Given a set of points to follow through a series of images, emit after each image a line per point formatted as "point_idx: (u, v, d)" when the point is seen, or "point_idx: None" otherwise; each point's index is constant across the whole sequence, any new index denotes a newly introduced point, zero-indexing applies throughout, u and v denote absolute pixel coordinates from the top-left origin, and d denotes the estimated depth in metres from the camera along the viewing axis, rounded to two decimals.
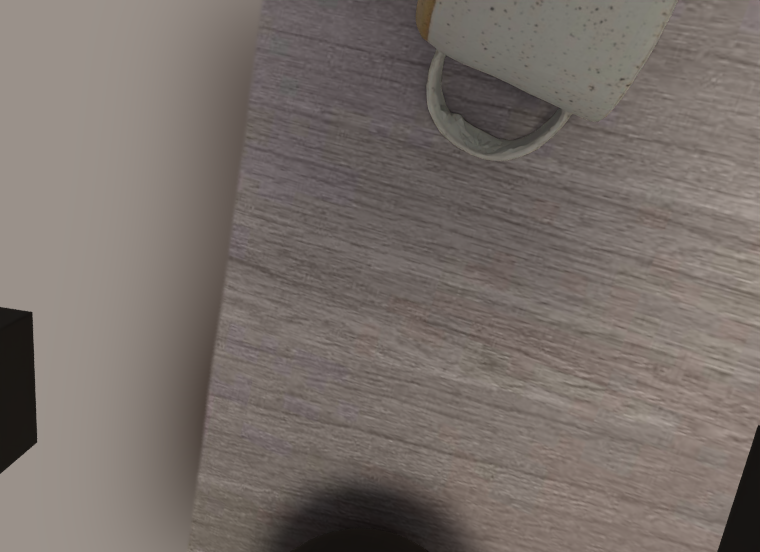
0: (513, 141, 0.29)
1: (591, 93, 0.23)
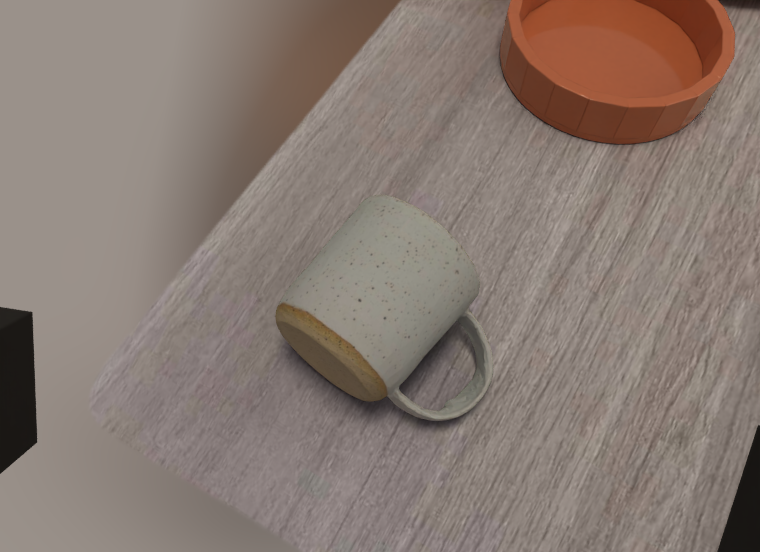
0: (478, 366, 0.35)
1: (460, 274, 0.31)
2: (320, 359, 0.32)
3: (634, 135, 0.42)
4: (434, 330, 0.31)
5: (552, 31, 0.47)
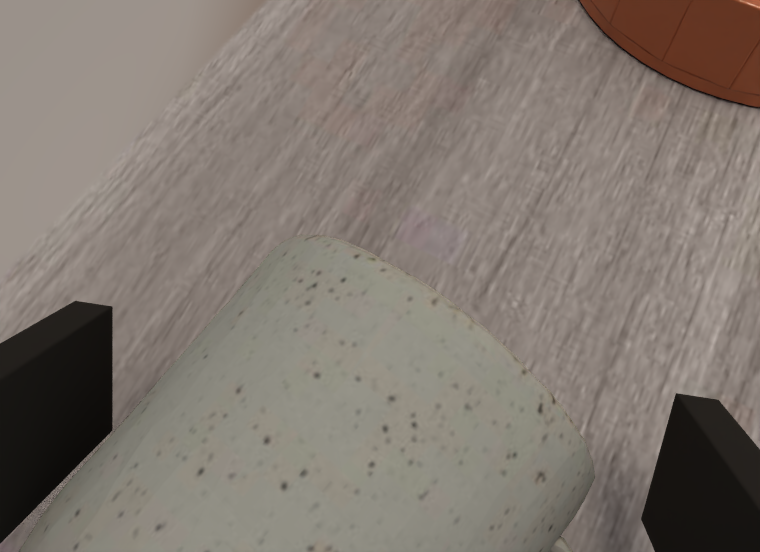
0: None
1: (550, 480, 0.10)
2: None
3: None
4: None
5: None
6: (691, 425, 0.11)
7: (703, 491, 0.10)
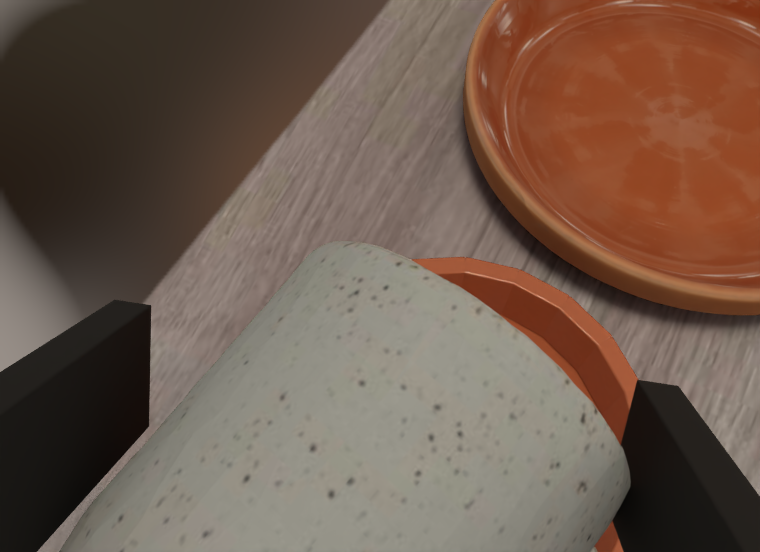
0: None
1: (591, 490, 0.10)
2: None
3: None
4: None
5: None
6: (649, 409, 0.11)
7: (658, 471, 0.11)
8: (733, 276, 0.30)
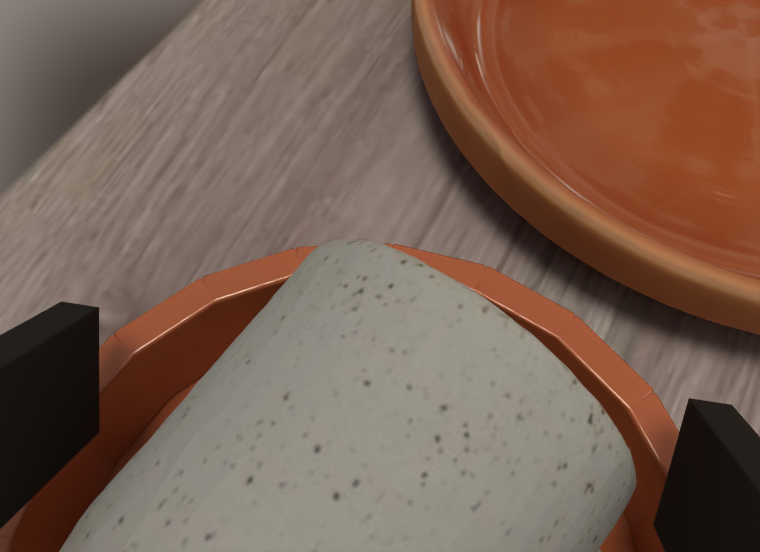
0: None
1: (598, 491, 0.10)
2: None
3: None
4: None
5: None
6: (705, 431, 0.11)
7: (719, 497, 0.10)
8: None
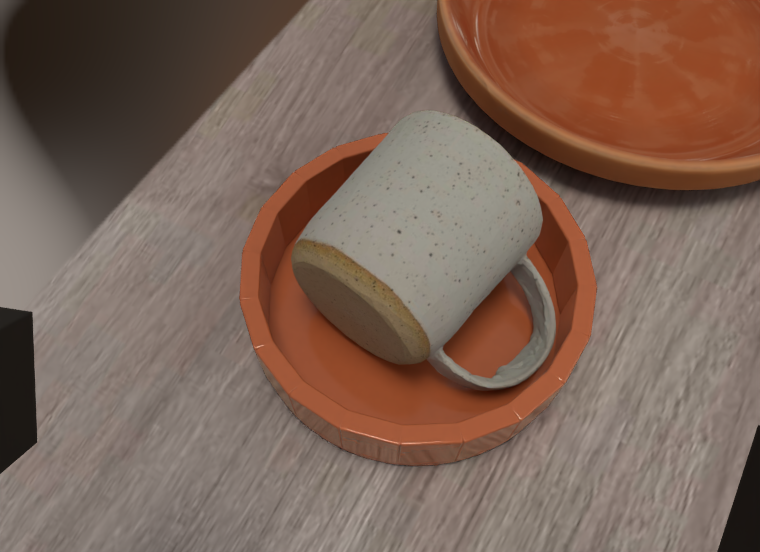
0: (535, 326, 0.28)
1: (522, 205, 0.25)
2: (346, 312, 0.26)
3: (431, 460, 0.26)
4: (489, 275, 0.25)
5: None
6: None
7: None
8: None
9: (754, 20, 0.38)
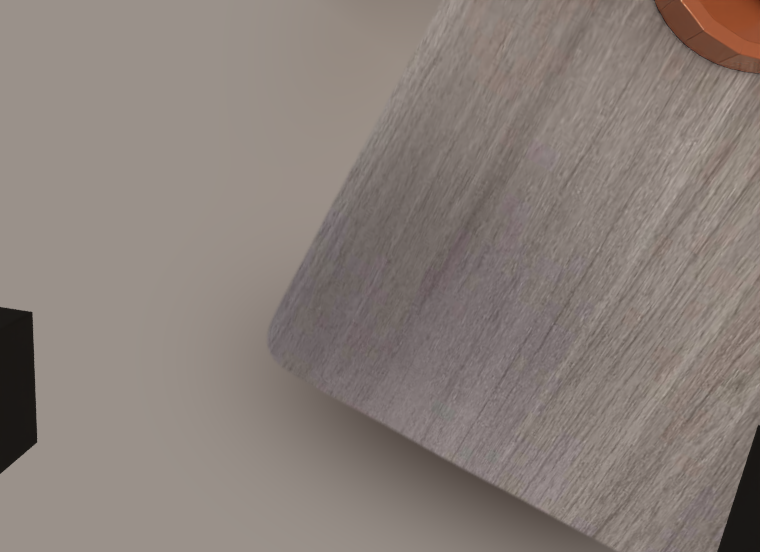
0: None
1: None
2: None
3: None
4: None
5: None
6: None
7: None
8: None
9: None
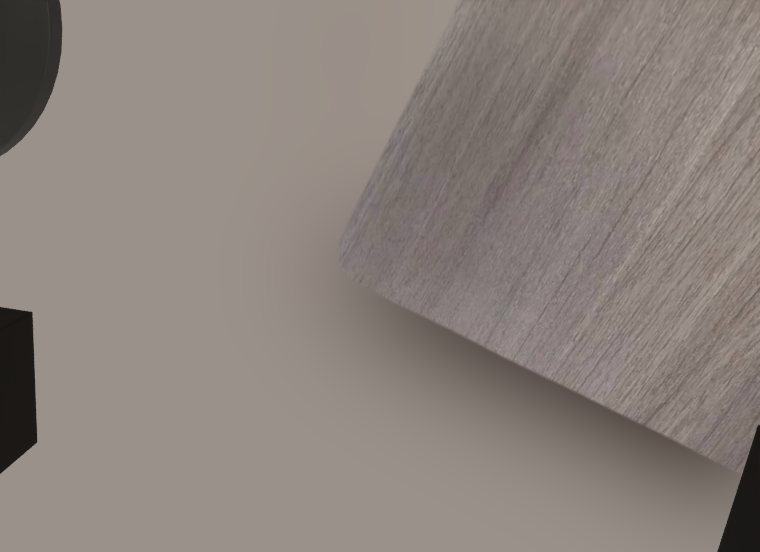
0: None
1: None
2: None
3: None
4: None
5: None
6: None
7: None
8: None
9: None
